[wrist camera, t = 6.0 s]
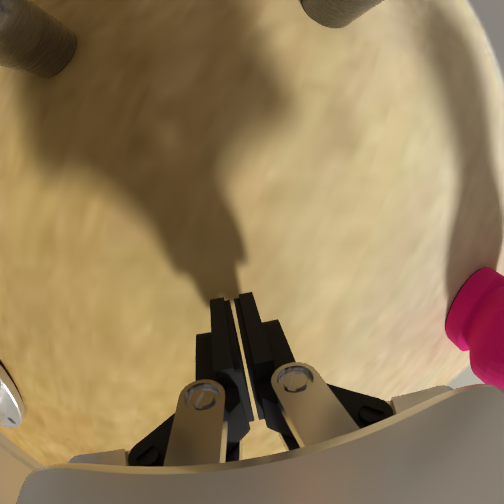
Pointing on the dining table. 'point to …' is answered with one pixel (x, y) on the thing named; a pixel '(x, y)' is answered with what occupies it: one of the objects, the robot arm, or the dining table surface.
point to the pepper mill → (480, 324)
